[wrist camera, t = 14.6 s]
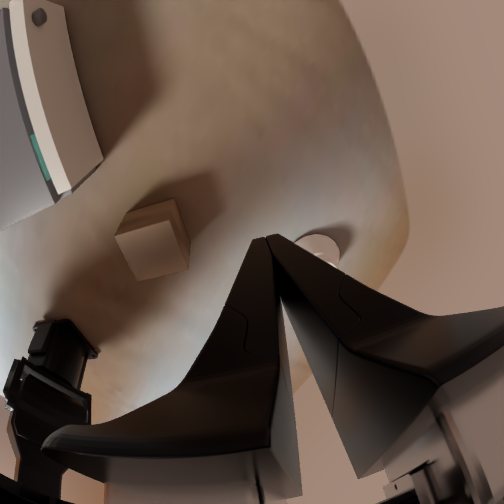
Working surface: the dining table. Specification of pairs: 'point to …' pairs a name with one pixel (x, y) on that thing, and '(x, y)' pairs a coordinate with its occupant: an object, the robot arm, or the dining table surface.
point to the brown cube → (154, 241)
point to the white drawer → (53, 91)
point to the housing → (20, 145)
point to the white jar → (321, 248)
